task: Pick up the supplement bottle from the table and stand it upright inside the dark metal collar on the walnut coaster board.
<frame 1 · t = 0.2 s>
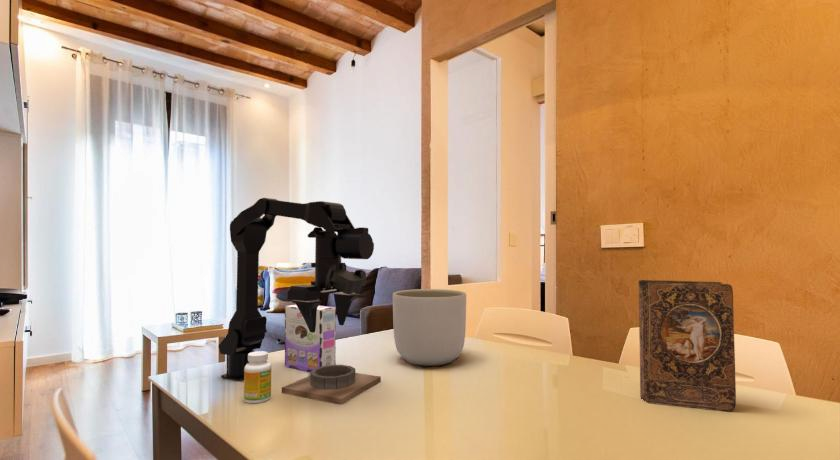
hand: (327, 328, 96), 14 cm above the table, fingers open, 9 cm apart
supplement bottle: (257, 400, 92), on the table
collar holder: (333, 387, 99), on the table
book: (684, 403, 89), on the table
candy box: (309, 368, 115), on the table
planter: (429, 361, 122), on the table
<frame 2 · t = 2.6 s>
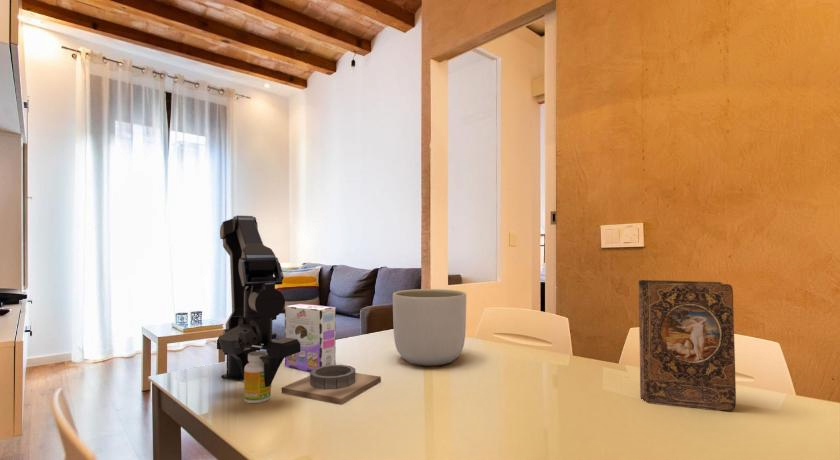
hand: (257, 384, 92), 3 cm above the table, fingers closed on supplement bottle, 5 cm apart
supplement bottle: (257, 400, 92), on the table, touching gripper
everything else where it was.
when the fingers open (6 cm above the table, at t = 7.2 s): supplement bottle drops 1 cm, resting on collar holder.
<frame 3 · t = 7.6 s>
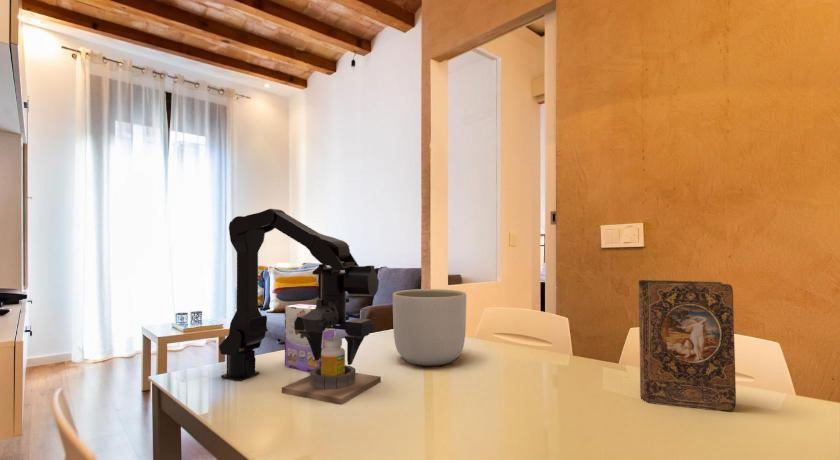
hand: (333, 362, 99), 6 cm above the table, fingers open, 9 cm apart
supplement bottle: (332, 382, 99), point 1 cm above the table, touching collar holder
everything else where it was.
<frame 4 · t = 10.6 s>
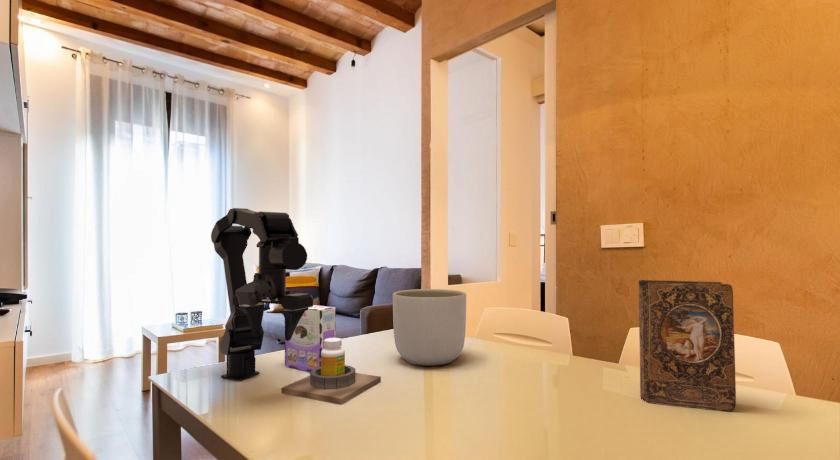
hand: (271, 338, 96), 12 cm above the table, fingers open, 9 cm apart
nothing on the table moved.
at the end: supplement bottle 0.1 cm off-centre on the collar holder, point 1.0 cm above the collar holder's base; supplement bottle tilted 0°; the gripper is holding nothing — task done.
